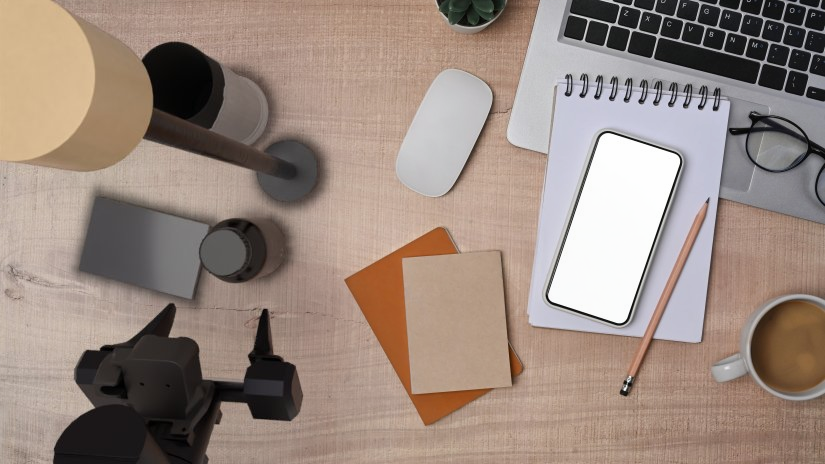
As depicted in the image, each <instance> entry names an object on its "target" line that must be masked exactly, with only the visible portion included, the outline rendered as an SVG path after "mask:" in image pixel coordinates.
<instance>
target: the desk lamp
mask: <svg viewBox="0 0 825 464" xmlns="http://www.w3.org/2000/svg"><path fill="white" fill-rule="evenodd" d="M141 60H142V59H141V58H140V56H139V55H138V54H137V53H136V52H135V51H134V50H133V48H131V47H130V46H129V45H128V44H127V43H125V42H124V41H123V40H121V39H120V38H118V37H116V36H115V35H113V34H111V33H109V31H106V30H104V29H102V28H101V27H99V26H97V25H96V24H94V23H92V22H90V21H88V20H87V19H85V18H83V17H82V16H80V15H78V14H76V13H75V12H73V11H71V10H69V9H67V8H66V7H64V6H62V5H61V4H59V3H57V2H55V1H54V0H0V161H1V162H7V163H8V162H9V163H14V164H20V165H21V164H22V165H28V166H35V167H41V168H50V169H55V170H63V171H70V172H76V173H91V172H97V171H101V170H105V169H107V168H110V167H112V166H114V165H117V164H118V163H120V162H121V161H123V160H124V159H125V158H126V157H128V156H130V154H132V152H133V151H134V150H135V149H136V148H137V147H138V146H139V144H140V143H141V142H142V140H145V141H148V142H153V143H156V144H159V145H161V146H166V147H170V148H172V149H177V150H180V151H184V152H187V153H191V154H193V155H194V154H195V155H198V156H201V157H204V158H207V159H212V160H215V161H218V162H222V163H225V164H229V165H232V166H237V167H238V168H239V167H240V168H243V169H246V170H250V171H254V172H256V177H257V182H258V184H259V186H260V187H261V189H262V190H263V192H265V194H266V195H267V196H269V197H270V198H272V199H274V200H276V201H279V202H281V203H283V202H284V203H297V202H301V201H303V200H305V199H307V198H308V197H309V196H311V195H312V194H313V193H314V192H315V190H316V189H317V187H318V185H319V182H320V179H321V166H320V162H319V159H318V158H317V156H316V154H315V153H314V151H313V150H312V149H310V148H309V147H308V146H306V145H304V144H303V143H302V142H299V141H295V140H290V139H286V140H285V139H284V140H279V141H277V142H274V143H272V144H271V145H269V146H268V147H266V148H265V149H264V151H263V150H260V149H257V148H255V147H253V146H251V145H249V146H248V145H245V144H243V143H240V142H238V141H235V140H233V139H230V138H228V137H225V136H223V135H221V134H218V133H216V132H213V131H211V130H208V129H206V128H203V127H201V126H198V125H196V124H193V123H191V122H189V121H186V120H184V119H181V118H179V117H176V116H174V115H171V114H169V113H166V112H164V111H161V110H159V109H157V108H154V107H153V93H152V86H151V82H150V78H149V75H148V73H147V70H146V68H145V66H144V65H143V63H142V61H141Z"/></svg>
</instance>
